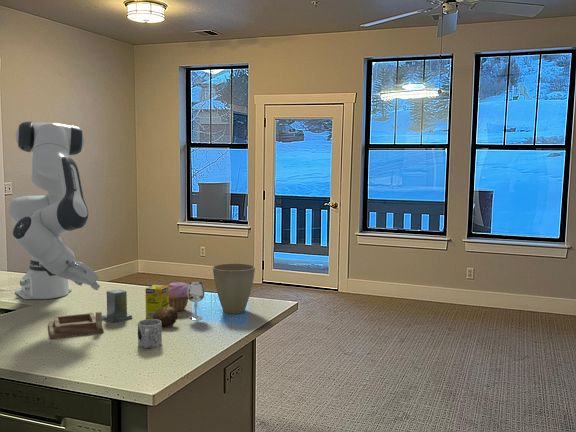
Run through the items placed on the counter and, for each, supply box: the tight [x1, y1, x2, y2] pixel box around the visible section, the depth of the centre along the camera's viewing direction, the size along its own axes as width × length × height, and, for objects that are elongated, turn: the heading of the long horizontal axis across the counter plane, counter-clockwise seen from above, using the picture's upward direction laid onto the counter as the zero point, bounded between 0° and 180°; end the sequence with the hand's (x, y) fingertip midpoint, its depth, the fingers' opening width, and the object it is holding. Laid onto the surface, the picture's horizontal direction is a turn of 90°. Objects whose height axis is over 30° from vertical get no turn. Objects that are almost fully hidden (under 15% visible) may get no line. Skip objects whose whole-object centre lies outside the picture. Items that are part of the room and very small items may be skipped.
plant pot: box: [212, 262, 256, 315], centre depth 200 cm, size 15×15×16 cm
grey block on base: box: [102, 288, 133, 324], centre depth 189 cm, size 7×7×10 cm
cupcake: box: [167, 281, 189, 312], centre depth 201 cm, size 9×9×10 cm
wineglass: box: [187, 281, 205, 321], centre depth 190 cm, size 6×6×12 cm
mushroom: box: [153, 307, 179, 328], centre depth 182 cm, size 8×8×6 cm
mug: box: [137, 319, 163, 350], centre depth 162 cm, size 10×7×7 cm, turn 4°
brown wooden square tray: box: [48, 311, 104, 339], centre depth 177 cm, size 15×15×6 cm
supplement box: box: [145, 284, 169, 320], centre depth 189 cm, size 6×6×11 cm
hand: (89, 285), depth 180 cm, fingers open, 8 cm apart
